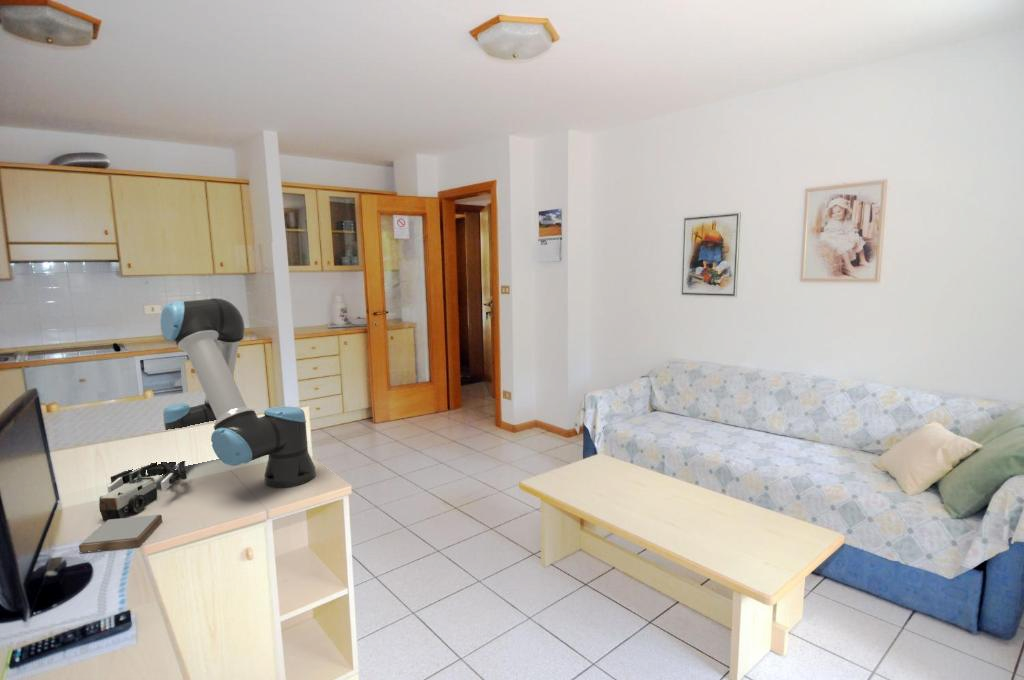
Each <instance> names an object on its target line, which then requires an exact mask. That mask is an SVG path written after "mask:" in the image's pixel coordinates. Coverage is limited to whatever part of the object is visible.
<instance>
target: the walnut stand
mask: <svg viewBox="0 0 1024 680" xmlns="http://www.w3.org/2000/svg"><path fill="white" fill-rule="evenodd" d="M162 522H163V516H162V514H154V515H153V514H152V515H142V516H133V517H131V516H130V517H126V518H120V519H110V520H107V521H104V522H103V523H102V524H101V525H100V526H99V527H98V528H97V529H96V530H95V531H93V532H92V533H91V534H90V535H89V536H88V537H87V538H85V539H84V540H83V542H81V543H80V544H79V545H78V550H79V553H80V552H88V551H97V552H102V551H101V550H106V551H115V550H123V549H133V548H140V547H141V546H142V545H143V543H145V541H146V540H147V539H148V538H149V537H150V536H151V535H152V533H154V531H155V530H156V529H157V528H158V527H159V526H160V525H161V524H162ZM114 549H115V550H114ZM98 550H100V551H98ZM88 553H89V552H88Z"/></svg>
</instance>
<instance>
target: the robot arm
mask: <svg viewBox="0 0 1024 680" xmlns="http://www.w3.org/2000/svg"><path fill="white" fill-rule="evenodd" d="M160 330H161V333H162V336H163V338H164V339H165V340H166V341H167V342H171V343H173V342H175V344H176V347H177V349H178V350H180V351H184V352H186V355H187V357H188V359H189V361H190V364H191V365H192V368H193V370H194V372H195V374H196V377H197V379H198V381H199V383H200V386H201V388H202V390H203V392H204V395H205V397H204V398H205V399H204V403H203V404H199V405H195V406H189V404H188V403H185V402H182V403H181V402H179V403H173V404H172V403H171V404H169V405H167V406H165V407H164V408H163V423H164V425H163V426H164V430H168V429H175V428H182V427H187V426H190V425H195V424H200V423H204V422H209V421H214V420H217V421H216V423H214V424H213V429H214V431H213V432H212V433H211V436H210V440H211V441H210V442H211V443H212V444H211V447H212V450H213V452H214V453H215V455H216V457H217V458H218V459H219V460H220V461H221V462H222V463H224V464H225V465H227V466H230V467H231V466H232V467H233V466H239V465H241V464H248V463H250V461H254V460H256V459H257V460H258V459H260V458H263V457H265V456H268V460H267V464H266V468H265V472H264V483H265V485H267V486H268V487H271V488H290V487H289V486H291V487H294V485H296V486H298V484H300V485H302V484H301V483H303V482H305V483H307V482H306V481H308V480H309V481H311V480H312V479H314V478H315V477H316V475H315V474H316V472H317V471H316V466H315V463H314V462H313V459H312V457H311V455H310V452H309V448H308V437H307V436H308V435H307V424H306V423H307V420H306V419H307V418H306V414H305V411H304V410H303V409H302V408H300V407H297V406H283V405H282V406H273V407H268V408H266V409H265V410H264V412H263V416H260V417H259V416H257V413H256V411H255V410H254V409H251V408H249V407H247V405H246V402H245V401H244V398H243V396H242V394H241V392H240V390H239V387H238V385H237V384H236V381H235V379H234V372H235V367H236V363H237V356H238V350H239V345H240V342H241V341H243V340H244V335H245V322H244V318H243V316H242V314H241V312H240V310H239V309H238V308H237V307H236V306H235V305H234V304H233V303H231V302H230V301H228V300H225V299H223V298H218V297H216V298H215V297H214V298H213V297H212V298H210V299H209V298H207V299H196V300H195V299H194V300H185V301H183V300H180V301H174V302H168V303H167V304H166V305H165V306H163V308H162V311H161V314H160ZM150 463H151V462H150ZM150 463H149V464H150ZM149 464H148V465H144V466H141V469H140V473H141V476H142V477H156V476H160V475H162V474H163V475H165V476H164V479H162V480H161V481H160V486H161V492H166V491H167V489H168V488H170V486H172V485H173V484H175V483H176V482H179V481H180V479H182V480H187V479H188V478H187V477H188V475H187V469H186V468H187V467H186V461H182V462H180V463H178V464H177V465H176V462H169V463H167V462H161V464H158V465H157V462H156V463H151V464H150V465H149ZM176 468H177V470H175V469H176ZM127 470H128V471H126V470H124V471H122V472H119V473H116V474H114V475H112V476H110V484H109V485H108V486H107V494H108V493H110V492H112V491H113V490H115V489H117V488H119V487H121V486H122V485H124V484H126V483H128V482H130V481H129V476H128V474H129V473H130V472H133V471H132V470H133V469H132V470H129V469H127ZM146 470H147V473H146ZM137 476H138V473H136V472H135V473H134V474H133V475H132V477H133V480H134V479H135V478H137ZM313 477H314V478H313ZM311 478H312V479H311ZM310 479H311V480H310ZM309 481H308V482H309ZM303 484H304V483H303Z"/></svg>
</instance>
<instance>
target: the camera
mask: <svg viewBox="0 0 1024 680" xmlns="http://www.w3.org/2000/svg"><path fill="white" fill-rule="evenodd" d="M140 469H141V468H138V469H136V470H134V471H133V472H130V473H129V474H128V476H129V481H130V482H128V483H126V484H123V485H122V486H121V487H119V488H117V489H115V490H113V491H112V492H110V493H108V492H107V493H106V494H104V495H101V496H99V504H98V506H99V507H98V508H99V513H100V515H101V517H102V521H104V522H106V521H107V520H110V519H120V518H129V516H130V517H131V515H138V514H140V513H142V512H144V508H145V507H147V506H148V505H149V504H151V503H153V502H155V501H156V500H157V497H158V488H157V487H158V486H157V483H156V480H155V478H154V476H151V477H142V476H141V473H140ZM135 472H136V473H138V476H137V478H135V479H134V480H133V477H132V475H133V474H134V473H135Z"/></svg>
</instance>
